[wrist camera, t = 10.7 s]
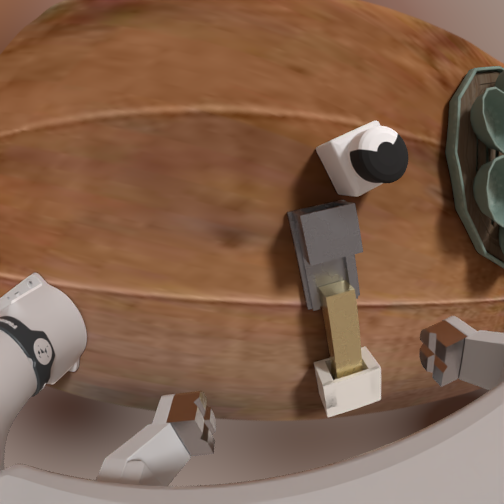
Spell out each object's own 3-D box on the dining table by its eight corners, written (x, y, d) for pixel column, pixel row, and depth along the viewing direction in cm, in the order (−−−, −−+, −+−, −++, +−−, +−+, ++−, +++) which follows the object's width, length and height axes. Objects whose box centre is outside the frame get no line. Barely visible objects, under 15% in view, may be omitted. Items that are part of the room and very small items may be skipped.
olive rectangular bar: (331, 375, 44) (338, 390, 40) (317, 287, 40) (325, 297, 36) (355, 368, 44) (363, 382, 40) (345, 279, 40) (355, 289, 36)
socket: (318, 392, 46) (327, 417, 40) (313, 362, 44) (323, 386, 38) (367, 377, 46) (380, 399, 39) (365, 346, 44) (380, 367, 38)
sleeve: (306, 307, 42) (316, 326, 36) (286, 212, 39) (294, 217, 33) (357, 292, 42) (373, 308, 36) (342, 199, 39) (359, 202, 33)
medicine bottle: (378, 174, 38) (425, 172, 27) (337, 195, 39) (374, 200, 27) (356, 128, 37) (397, 110, 25) (314, 148, 37) (343, 134, 26)
